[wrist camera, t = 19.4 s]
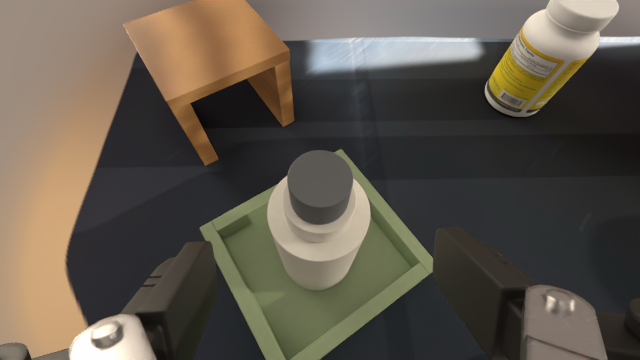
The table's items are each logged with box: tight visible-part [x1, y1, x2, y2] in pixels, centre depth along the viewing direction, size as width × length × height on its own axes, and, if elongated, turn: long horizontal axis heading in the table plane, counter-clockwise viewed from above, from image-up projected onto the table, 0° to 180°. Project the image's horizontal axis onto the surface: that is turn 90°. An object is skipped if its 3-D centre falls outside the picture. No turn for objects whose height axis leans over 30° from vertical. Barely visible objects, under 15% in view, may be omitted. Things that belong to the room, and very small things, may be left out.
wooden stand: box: [123, 0, 294, 166], centre depth 28 cm, size 10×10×9 cm
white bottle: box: [267, 150, 370, 291], centre depth 18 cm, size 5×5×12 cm
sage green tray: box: [200, 149, 433, 360], centre depth 24 cm, size 13×12×4 cm
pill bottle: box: [485, 0, 619, 117], centre depth 29 cm, size 6×6×11 cm
